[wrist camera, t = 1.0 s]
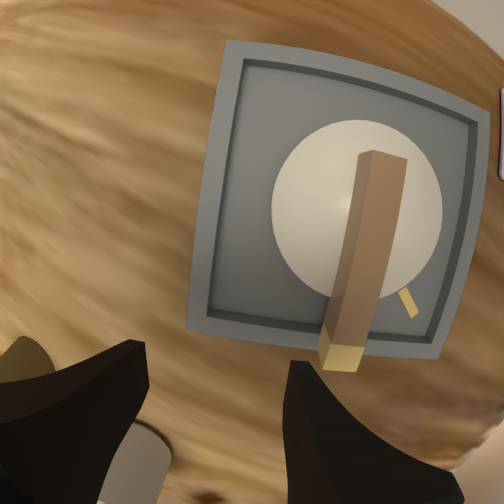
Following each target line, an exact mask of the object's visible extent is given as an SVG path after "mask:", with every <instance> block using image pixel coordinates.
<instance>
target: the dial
mask: <svg viewBox="0 0 504 504" xmlns="http://www.w3.org/2000/svg"><path fill="white" fill-rule="evenodd" d="M442 209H443V207H442V196H441V192H440V187H439V183H438V180H437V177H436V175H435V172H434V170H433V168H432V166H431V164H430V163H429V161H428V160H427V158H426V156H425V155H424V154H423V153H422V151H421V150H420V149H419V148H418V147H417V146H416V145H415V144H414V143H413V142H412V141H411V140H410V139H409V138H407V137H406V136H405V135H403V134H402V133H400V132H399V131H397V130H395V129H393V128H391V127H389V126H386V125H383V124H381V123H377V122H372V121H367V120H347V121H341V122H337V123H333V124H330V125H328V126H325V127H323V128H321V129H319V130H317V131H315V132H314V133H312V134H310V135H309V136H308V137H307V138H305V139H304V140H303V141H301V143H300V144H299V145H298V146H297V147H296V148H295V149H294V150H293V151H292V152H291V154H290V155H289V157H288V158H287V159H286V161H285V162H284V164H283V166H282V168H281V170H280V172H279V174H278V177H277V179H276V182H275V186H274V190H273V194H272V205H271V211H272V225H273V231H274V235H275V238H276V242H277V245H278V247H279V249H280V252H281V254H282V256H283V258H284V259H285V261H286V262H287V264H288V266H289V267H290V268H291V270H292V271H293V272H294V273H295V274H296V276H298V277H299V278H300V279H301V280H302V281H303V282H304V283H305V284H307V285H308V286H309V287H311V288H312V289H314V290H315V291H317V292H319V293H321V294H323V295H325V296H328V297H331V299H330V303H329V307H328V311H327V315H326V318H325V322H324V323H323V326H322V329H321V333H320V337H319V340H318V344H317V349H318V353H319V357H320V361H321V365H322V369H323V370H333V371H345V372H356V371H357V368H358V365H359V363H360V360H361V357H362V354H363V351H364V348H365V346H364V345H365V342H366V339H367V336H368V333H369V330H370V326H371V323H372V320H373V317H374V313H375V310H376V307H377V303H378V300H379V298H382V297H385V296H388V295H390V294H392V293H394V292H396V291H398V290H399V289H401V288H402V287H404V286H405V285H407V284H408V283H409V282H410V281H412V280H413V279H414V278H415V277H416V276H417V275H418V274H419V273H420V271H421V270H422V269H423V268H424V266H425V265H426V263H427V262H428V261H429V259H430V257H431V255H432V253H433V251H434V249H435V246H436V244H437V241H438V238H439V234H440V230H441V224H442Z"/></svg>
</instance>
